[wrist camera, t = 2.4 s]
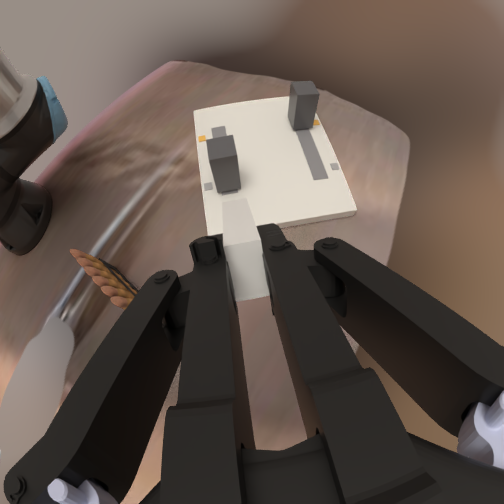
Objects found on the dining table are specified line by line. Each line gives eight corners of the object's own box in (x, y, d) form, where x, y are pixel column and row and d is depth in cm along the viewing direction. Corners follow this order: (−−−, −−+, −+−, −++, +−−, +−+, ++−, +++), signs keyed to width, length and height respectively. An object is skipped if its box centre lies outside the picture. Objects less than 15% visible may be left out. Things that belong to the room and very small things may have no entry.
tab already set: (312, 127, 43) (319, 93, 36) (292, 129, 43) (297, 95, 36) (306, 114, 44) (312, 80, 37) (287, 116, 44) (290, 81, 37)
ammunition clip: (107, 275, 39) (62, 251, 28) (114, 266, 39) (71, 239, 28) (152, 321, 37) (111, 311, 25) (160, 311, 37) (121, 297, 26)
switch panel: (353, 215, 41) (357, 209, 39) (210, 241, 40) (208, 236, 38) (305, 102, 49) (307, 94, 47) (195, 117, 48) (193, 110, 46)
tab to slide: (241, 188, 40) (237, 154, 32) (217, 192, 40) (208, 160, 32) (237, 169, 41) (232, 134, 33) (214, 173, 41) (205, 139, 33)
